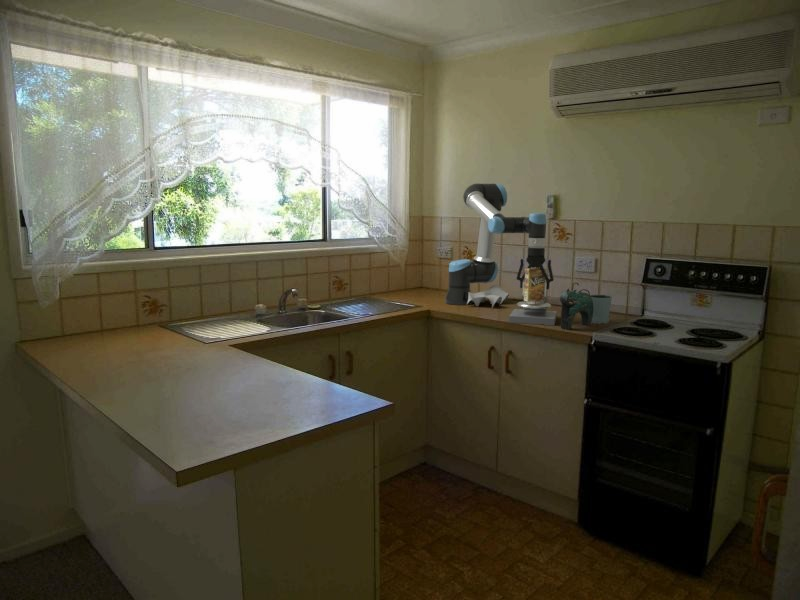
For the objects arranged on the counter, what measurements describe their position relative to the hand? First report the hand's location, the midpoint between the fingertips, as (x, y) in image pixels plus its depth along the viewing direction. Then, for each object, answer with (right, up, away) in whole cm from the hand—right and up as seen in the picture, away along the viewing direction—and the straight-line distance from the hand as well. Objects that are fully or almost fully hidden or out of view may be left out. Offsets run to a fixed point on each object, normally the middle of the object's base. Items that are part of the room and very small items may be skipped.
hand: (534, 295), depth 269 cm
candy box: (0, -3, 0) cm, 3 cm away
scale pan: (0, -6, +1) cm, 6 cm away
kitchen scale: (0, -11, +2) cm, 11 cm away
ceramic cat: (+15, -14, -13) cm, 25 cm away
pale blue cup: (+29, -12, -1) cm, 32 cm away
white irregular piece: (-15, -5, +45) cm, 47 cm away
